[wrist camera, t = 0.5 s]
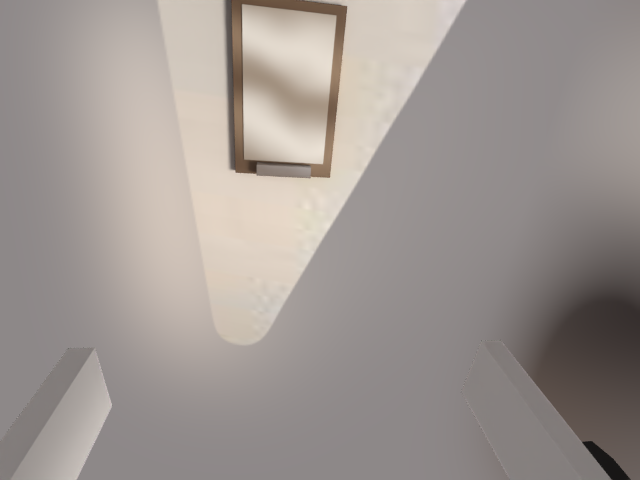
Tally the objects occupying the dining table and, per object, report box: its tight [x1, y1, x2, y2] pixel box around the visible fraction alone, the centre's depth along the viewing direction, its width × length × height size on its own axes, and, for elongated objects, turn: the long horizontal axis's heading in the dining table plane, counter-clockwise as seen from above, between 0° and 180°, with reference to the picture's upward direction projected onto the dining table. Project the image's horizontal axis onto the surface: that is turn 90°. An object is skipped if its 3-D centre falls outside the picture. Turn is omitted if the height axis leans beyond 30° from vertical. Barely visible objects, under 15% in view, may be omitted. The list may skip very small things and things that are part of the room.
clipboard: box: [231, 0, 347, 178], centre depth 29 cm, size 14×9×2 cm, turn 175°
